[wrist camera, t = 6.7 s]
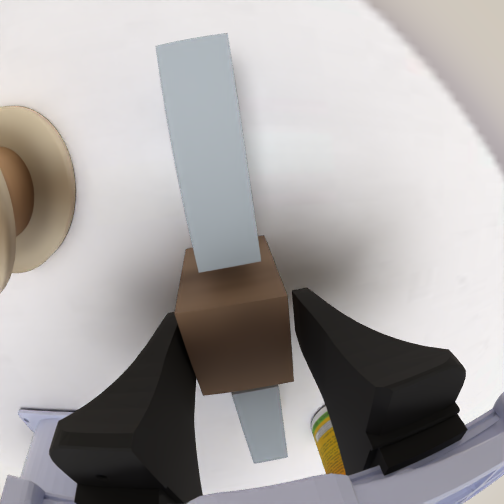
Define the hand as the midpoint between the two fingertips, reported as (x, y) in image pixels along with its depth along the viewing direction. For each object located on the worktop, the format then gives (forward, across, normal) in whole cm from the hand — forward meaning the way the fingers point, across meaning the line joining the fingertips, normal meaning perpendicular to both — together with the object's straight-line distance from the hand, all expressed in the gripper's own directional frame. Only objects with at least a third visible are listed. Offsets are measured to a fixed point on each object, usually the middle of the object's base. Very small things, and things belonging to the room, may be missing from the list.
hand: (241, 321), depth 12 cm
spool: (+3, +10, -7) cm, 13 cm away
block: (+3, 0, 0) cm, 3 cm away
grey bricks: (+3, 0, 0) cm, 3 cm away
